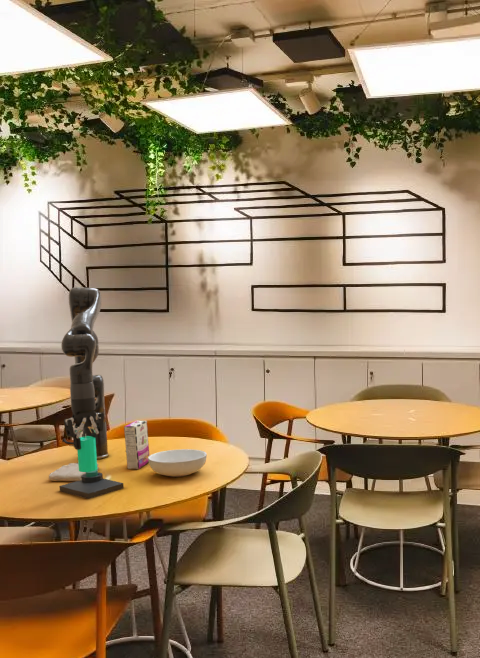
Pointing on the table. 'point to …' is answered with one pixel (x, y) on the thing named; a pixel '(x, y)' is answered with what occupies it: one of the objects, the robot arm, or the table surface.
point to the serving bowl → (177, 462)
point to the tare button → (92, 473)
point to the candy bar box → (136, 444)
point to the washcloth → (67, 473)
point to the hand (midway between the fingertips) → (86, 447)
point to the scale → (91, 486)
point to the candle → (87, 454)
